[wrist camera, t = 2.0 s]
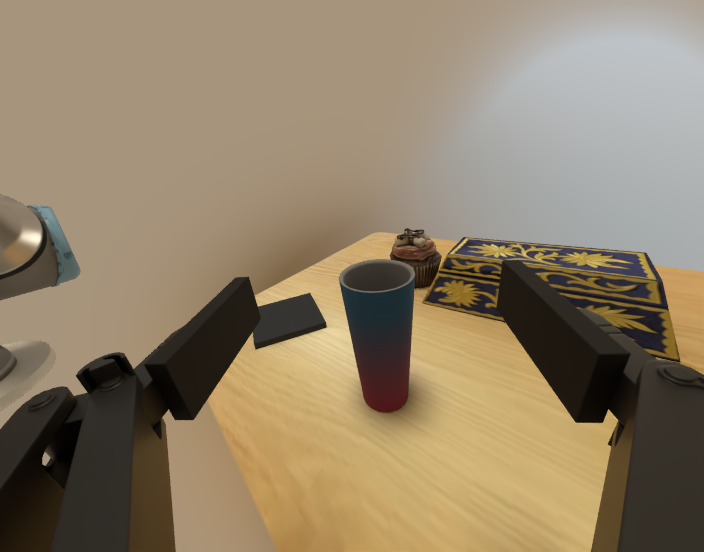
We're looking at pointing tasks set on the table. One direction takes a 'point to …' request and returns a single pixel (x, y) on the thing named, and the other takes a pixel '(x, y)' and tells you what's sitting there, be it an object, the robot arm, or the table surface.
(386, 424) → the table surface
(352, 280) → the cup
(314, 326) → the mat
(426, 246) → the cupcake
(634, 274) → the decorative box
